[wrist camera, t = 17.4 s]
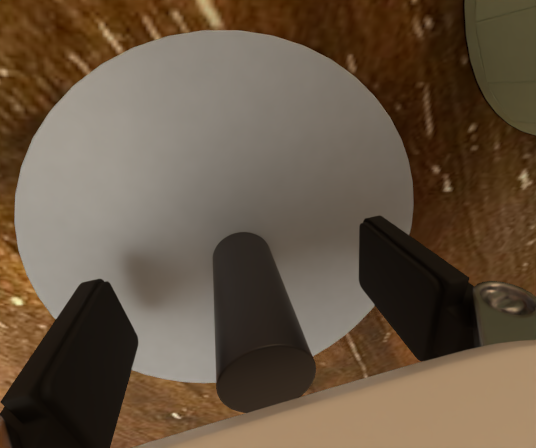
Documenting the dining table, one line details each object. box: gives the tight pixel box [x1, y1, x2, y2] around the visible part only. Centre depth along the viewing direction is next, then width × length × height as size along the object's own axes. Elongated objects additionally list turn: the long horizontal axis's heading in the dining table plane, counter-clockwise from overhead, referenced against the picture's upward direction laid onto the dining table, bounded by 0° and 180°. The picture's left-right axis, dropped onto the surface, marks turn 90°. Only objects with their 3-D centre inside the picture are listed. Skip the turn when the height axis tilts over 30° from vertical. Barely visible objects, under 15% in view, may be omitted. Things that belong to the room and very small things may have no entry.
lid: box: [15, 30, 414, 413], centre depth 9 cm, size 16×16×7 cm
